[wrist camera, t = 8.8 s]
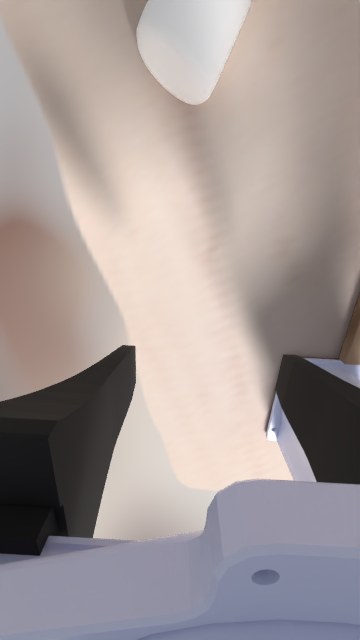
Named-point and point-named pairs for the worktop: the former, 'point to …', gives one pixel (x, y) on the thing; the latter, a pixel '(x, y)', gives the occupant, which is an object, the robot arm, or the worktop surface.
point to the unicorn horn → (189, 43)
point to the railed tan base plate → (352, 339)
